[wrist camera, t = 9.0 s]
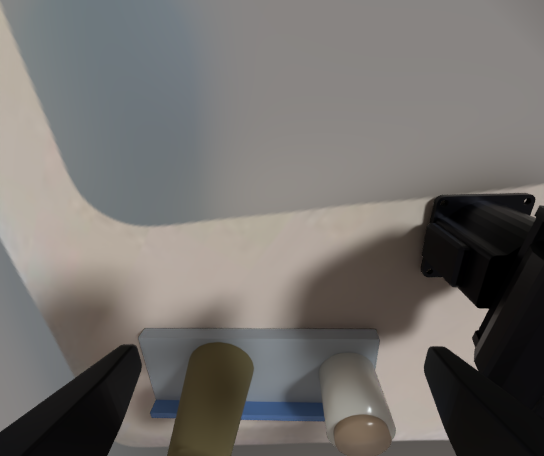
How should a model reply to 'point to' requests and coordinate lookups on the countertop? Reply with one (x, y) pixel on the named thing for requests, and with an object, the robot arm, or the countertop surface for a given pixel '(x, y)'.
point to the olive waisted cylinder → (211, 401)
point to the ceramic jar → (355, 406)
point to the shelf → (256, 366)
